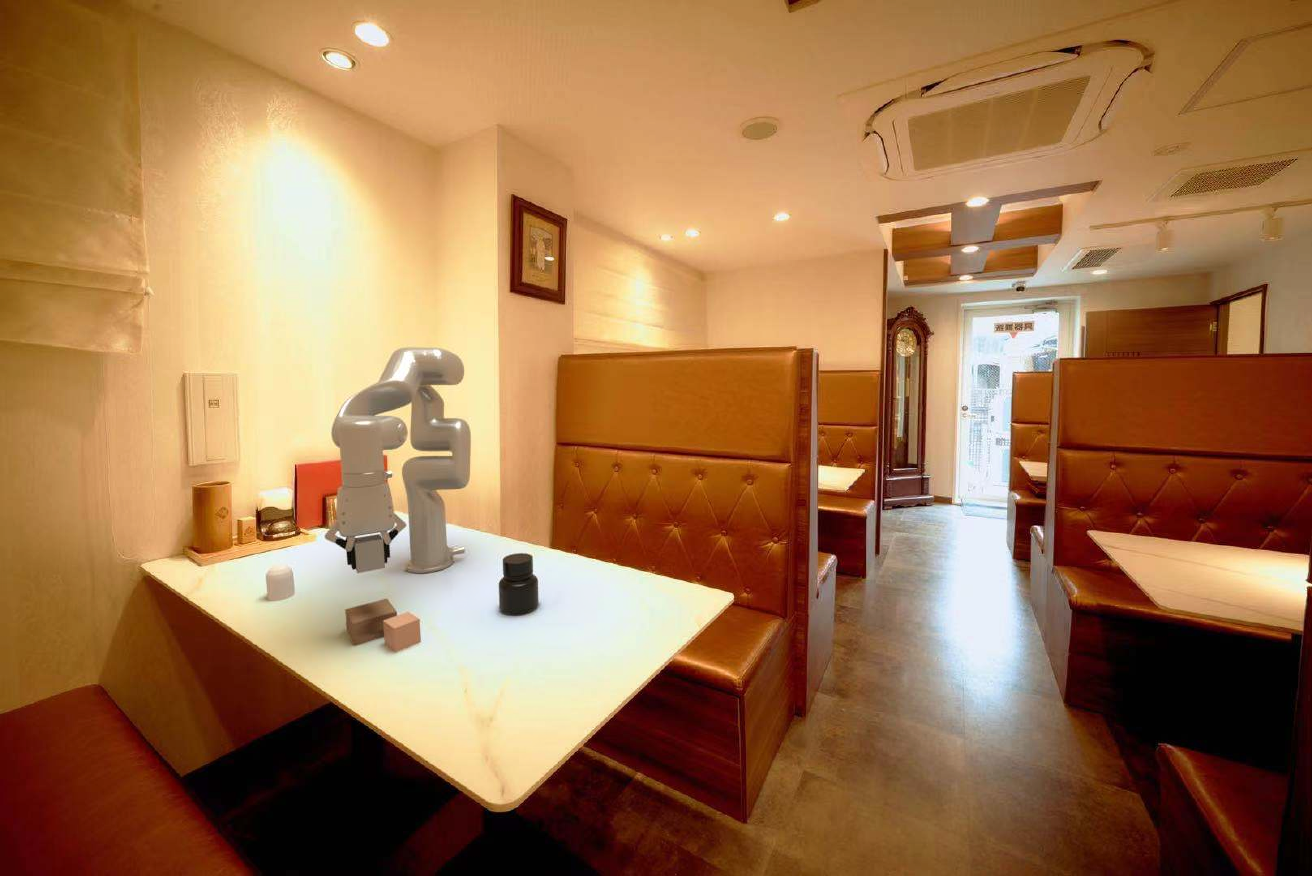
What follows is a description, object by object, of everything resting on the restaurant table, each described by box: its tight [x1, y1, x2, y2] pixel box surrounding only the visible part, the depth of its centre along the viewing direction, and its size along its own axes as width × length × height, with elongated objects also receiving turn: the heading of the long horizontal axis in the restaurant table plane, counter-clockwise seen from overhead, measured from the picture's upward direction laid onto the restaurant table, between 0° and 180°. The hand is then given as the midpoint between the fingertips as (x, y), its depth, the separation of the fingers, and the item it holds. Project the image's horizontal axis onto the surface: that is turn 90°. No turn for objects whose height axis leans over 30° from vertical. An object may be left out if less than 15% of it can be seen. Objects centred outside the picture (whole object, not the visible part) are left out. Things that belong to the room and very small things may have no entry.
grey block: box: [353, 533, 386, 574], centre depth 103 cm, size 5×5×6 cm
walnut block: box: [344, 598, 398, 647], centre depth 104 cm, size 8×8×5 cm
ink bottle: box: [498, 552, 540, 616], centre depth 115 cm, size 10×9×12 cm
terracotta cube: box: [383, 611, 422, 653], centre depth 100 cm, size 5×5×5 cm
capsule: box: [265, 563, 296, 602], centre depth 120 cm, size 5×5×8 cm
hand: (369, 563), depth 103 cm, fingers closed on grey block, 5 cm apart
